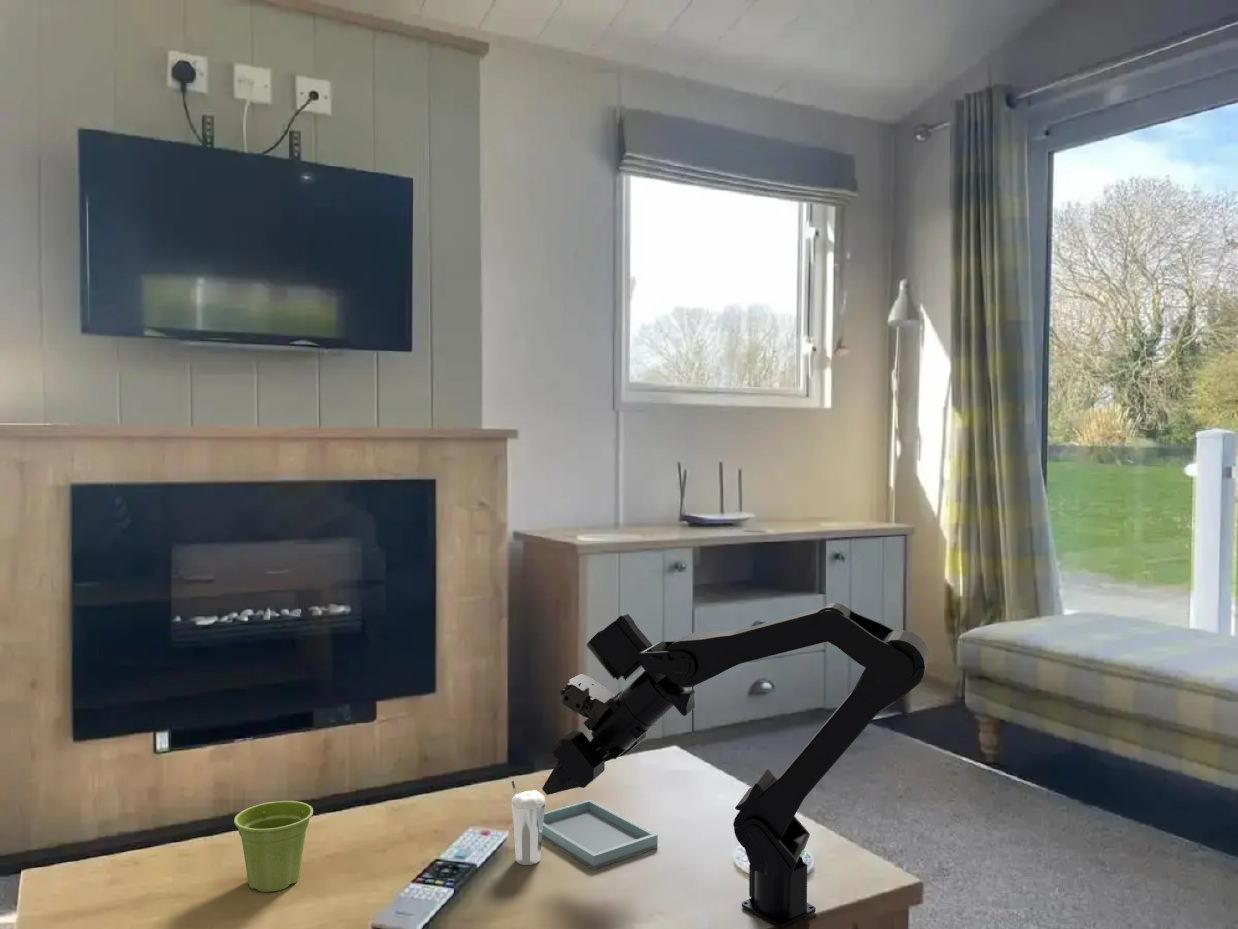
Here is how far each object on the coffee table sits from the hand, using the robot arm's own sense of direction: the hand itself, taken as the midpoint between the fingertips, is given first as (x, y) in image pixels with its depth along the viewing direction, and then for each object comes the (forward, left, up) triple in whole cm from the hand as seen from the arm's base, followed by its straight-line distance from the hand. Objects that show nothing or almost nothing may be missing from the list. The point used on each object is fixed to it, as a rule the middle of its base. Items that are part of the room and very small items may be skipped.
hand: (560, 779), depth 122 cm
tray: (+4, -8, -12) cm, 15 cm away
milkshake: (+4, +3, -12) cm, 13 cm away
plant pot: (+18, +32, -12) cm, 38 cm away
